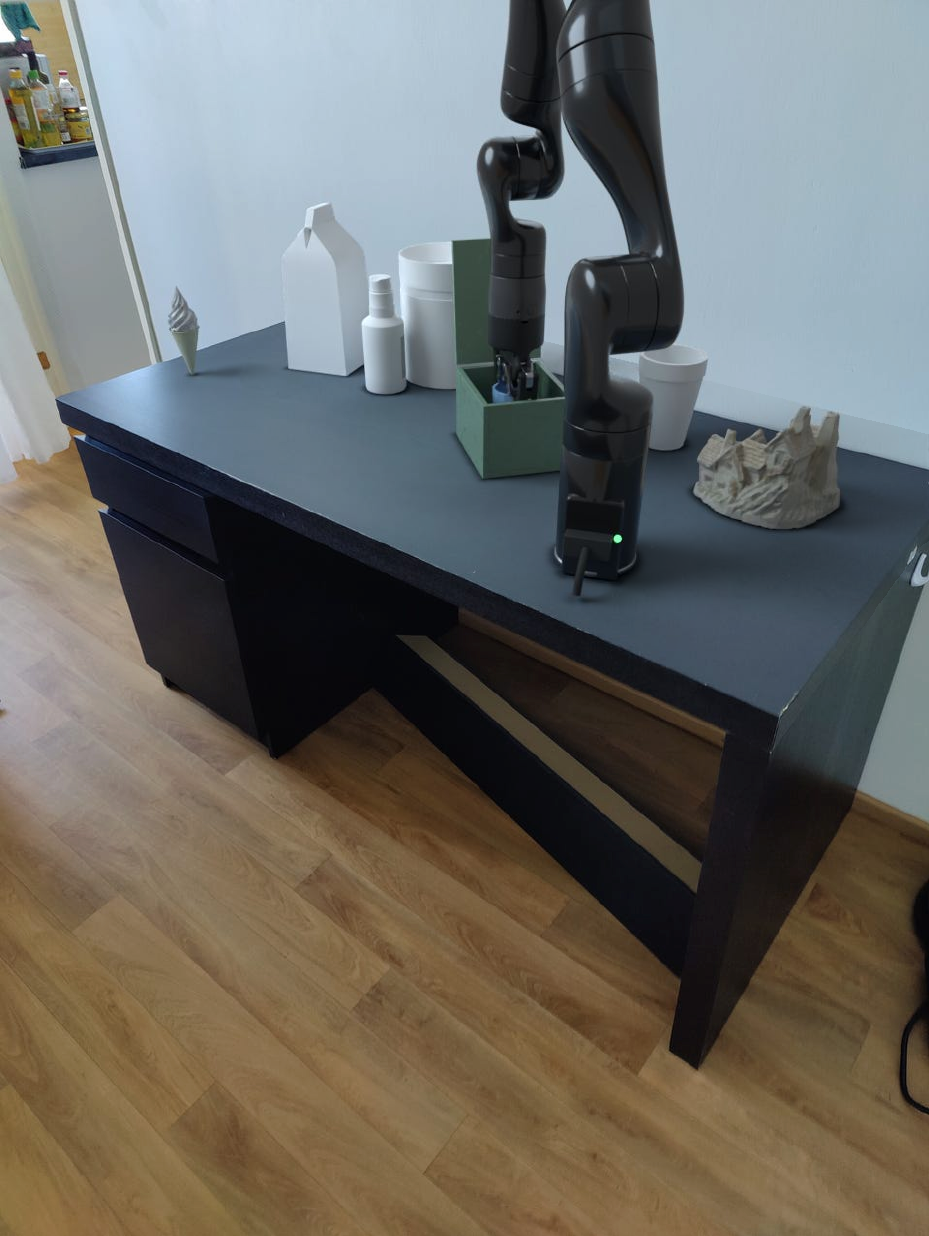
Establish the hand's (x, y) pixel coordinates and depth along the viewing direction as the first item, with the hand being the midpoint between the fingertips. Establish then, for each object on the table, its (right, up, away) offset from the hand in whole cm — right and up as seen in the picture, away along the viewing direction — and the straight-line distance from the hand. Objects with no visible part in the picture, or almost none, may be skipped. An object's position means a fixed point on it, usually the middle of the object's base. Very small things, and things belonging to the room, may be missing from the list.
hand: (513, 429), depth 125 cm
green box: (0, -3, +3) cm, 4 cm away
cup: (0, -1, +1) cm, 1 cm away
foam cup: (+22, -1, +5) cm, 23 cm away
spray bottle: (-20, +12, +24) cm, 34 cm away
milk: (-31, +20, +35) cm, 51 cm away
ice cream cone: (-55, +16, +30) cm, 64 cm away
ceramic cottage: (+32, -11, -10) cm, 36 cm away
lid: (-2, +17, -2) cm, 18 cm away
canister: (-10, +16, +30) cm, 36 cm away
